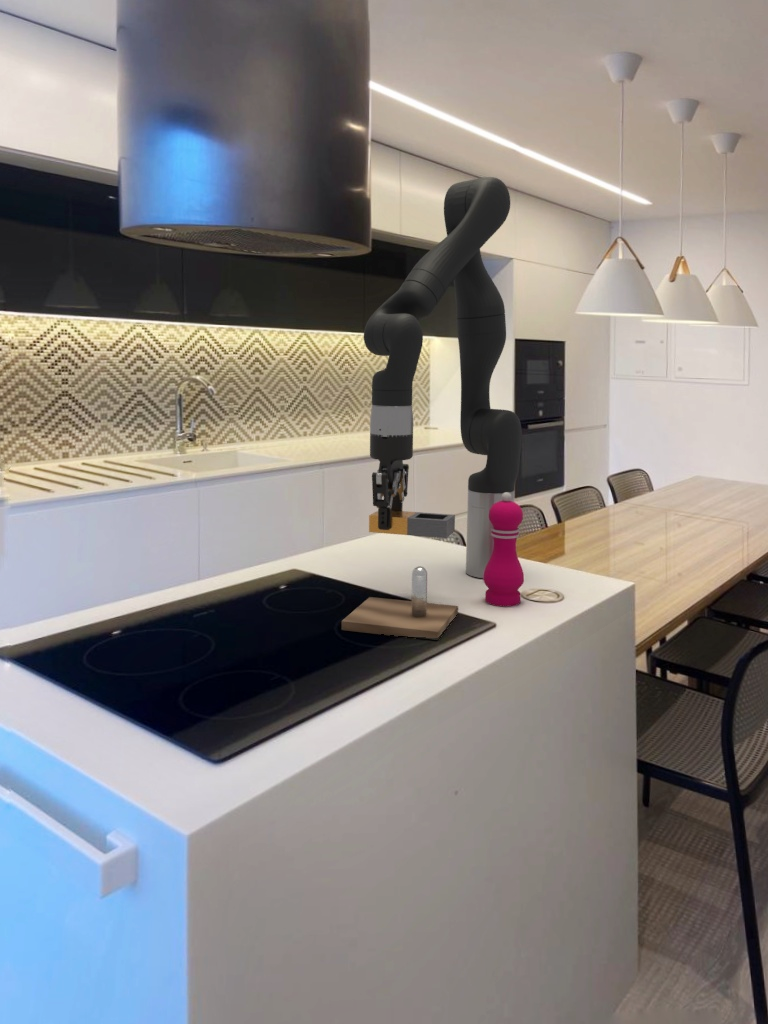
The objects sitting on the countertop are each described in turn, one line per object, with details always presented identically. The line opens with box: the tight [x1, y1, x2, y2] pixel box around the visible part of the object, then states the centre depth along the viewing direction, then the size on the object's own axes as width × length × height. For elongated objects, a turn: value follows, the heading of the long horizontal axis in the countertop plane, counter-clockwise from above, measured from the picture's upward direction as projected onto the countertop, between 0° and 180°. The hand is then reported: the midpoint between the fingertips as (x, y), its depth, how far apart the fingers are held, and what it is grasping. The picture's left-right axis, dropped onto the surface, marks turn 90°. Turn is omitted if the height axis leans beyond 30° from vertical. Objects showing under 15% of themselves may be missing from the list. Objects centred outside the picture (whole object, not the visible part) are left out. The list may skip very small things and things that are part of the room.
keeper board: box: [341, 596, 459, 638], centre depth 136 cm, size 14×16×2 cm
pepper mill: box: [482, 492, 525, 607], centre depth 146 cm, size 7×7×20 cm
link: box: [368, 510, 456, 539], centre depth 145 cm, size 6×14×3 cm, turn 72°
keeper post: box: [411, 566, 428, 618], centre depth 134 cm, size 2×2×8 cm
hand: (390, 525), depth 146 cm, fingers closed on link, 6 cm apart
